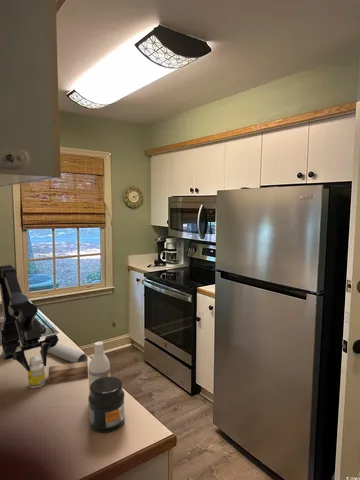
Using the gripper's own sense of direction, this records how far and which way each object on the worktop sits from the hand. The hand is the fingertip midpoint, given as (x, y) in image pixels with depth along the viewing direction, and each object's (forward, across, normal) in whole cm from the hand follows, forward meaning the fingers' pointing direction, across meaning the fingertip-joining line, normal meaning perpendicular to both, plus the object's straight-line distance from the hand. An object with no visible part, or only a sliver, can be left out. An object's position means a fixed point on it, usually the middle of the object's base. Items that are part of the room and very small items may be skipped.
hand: (37, 368), depth 118 cm
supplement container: (+29, +9, -19) cm, 36 cm away
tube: (-6, +16, +17) cm, 24 cm away
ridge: (+5, +11, +5) cm, 13 cm away
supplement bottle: (+4, 0, +6) cm, 7 cm away
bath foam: (+21, +13, -11) cm, 27 cm away
